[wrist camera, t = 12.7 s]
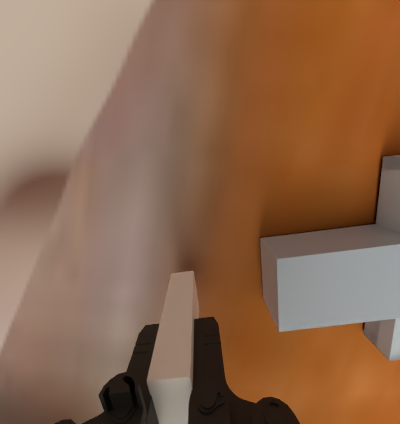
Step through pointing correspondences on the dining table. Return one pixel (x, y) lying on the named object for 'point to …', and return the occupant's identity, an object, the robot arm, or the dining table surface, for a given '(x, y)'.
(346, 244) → the tray
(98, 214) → the dining table surface
